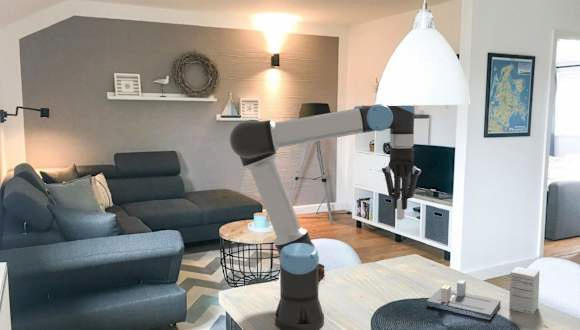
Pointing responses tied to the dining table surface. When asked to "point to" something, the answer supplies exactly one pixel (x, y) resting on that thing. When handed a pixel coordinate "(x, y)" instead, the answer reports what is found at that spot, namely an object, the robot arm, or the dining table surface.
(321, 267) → the pottery mug
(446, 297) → the fader near
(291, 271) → the robot arm
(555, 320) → the dining table surface
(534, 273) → the supplement box
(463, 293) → the block
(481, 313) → the plate
